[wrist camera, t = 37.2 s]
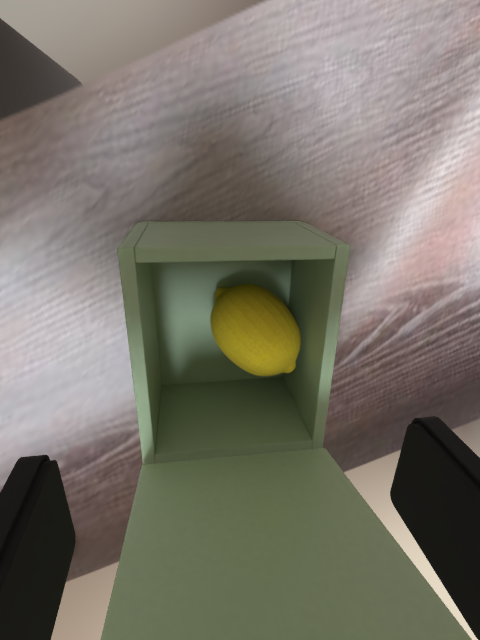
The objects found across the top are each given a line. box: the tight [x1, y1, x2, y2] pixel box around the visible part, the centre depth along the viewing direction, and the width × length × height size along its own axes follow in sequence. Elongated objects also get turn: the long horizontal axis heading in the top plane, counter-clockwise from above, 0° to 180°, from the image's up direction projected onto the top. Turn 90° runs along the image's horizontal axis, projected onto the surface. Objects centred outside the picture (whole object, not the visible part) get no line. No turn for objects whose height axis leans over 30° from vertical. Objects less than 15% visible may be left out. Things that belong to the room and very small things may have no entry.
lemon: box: [210, 284, 301, 376], centre depth 26 cm, size 6×6×8 cm
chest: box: [117, 221, 350, 465], centre depth 25 cm, size 14×12×9 cm
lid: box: [101, 448, 471, 640], centre depth 17 cm, size 15×12×5 cm
